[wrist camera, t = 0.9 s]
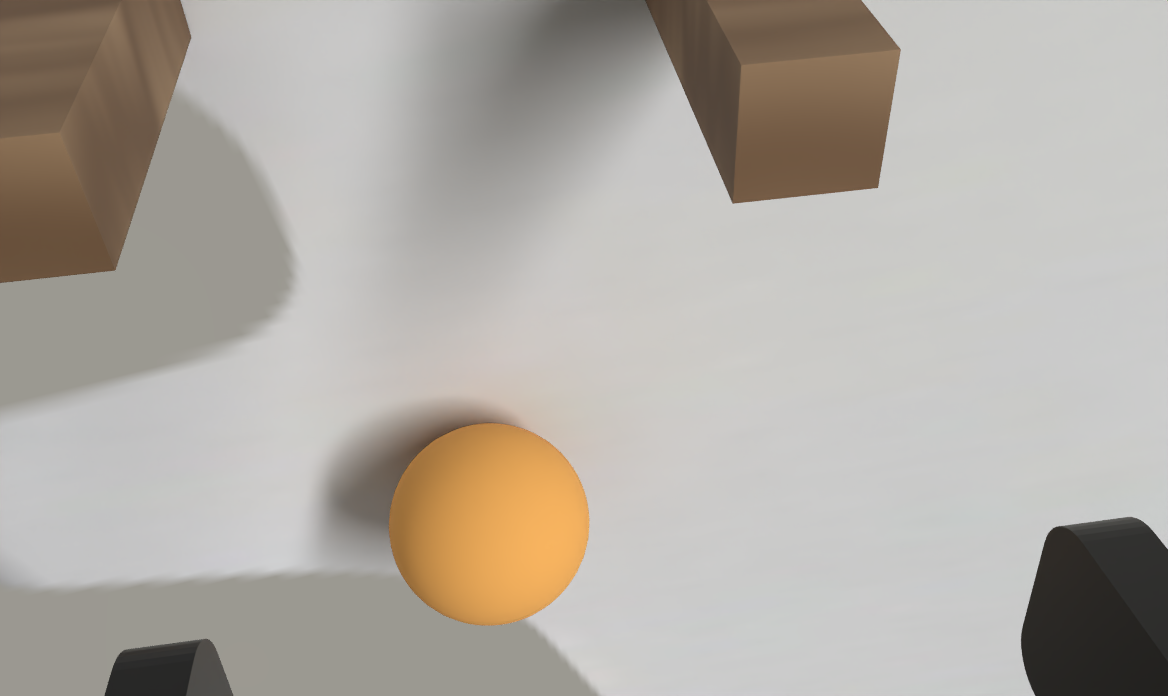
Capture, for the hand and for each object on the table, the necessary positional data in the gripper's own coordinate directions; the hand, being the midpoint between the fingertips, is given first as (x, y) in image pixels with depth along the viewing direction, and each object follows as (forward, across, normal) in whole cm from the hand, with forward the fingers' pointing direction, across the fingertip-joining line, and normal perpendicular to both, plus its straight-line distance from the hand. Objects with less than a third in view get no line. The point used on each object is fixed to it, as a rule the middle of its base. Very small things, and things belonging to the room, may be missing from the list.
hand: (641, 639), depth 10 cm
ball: (+17, +2, +14) cm, 23 cm away
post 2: (+18, -5, -2) cm, 19 cm away
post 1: (+18, +8, -2) cm, 20 cm away
